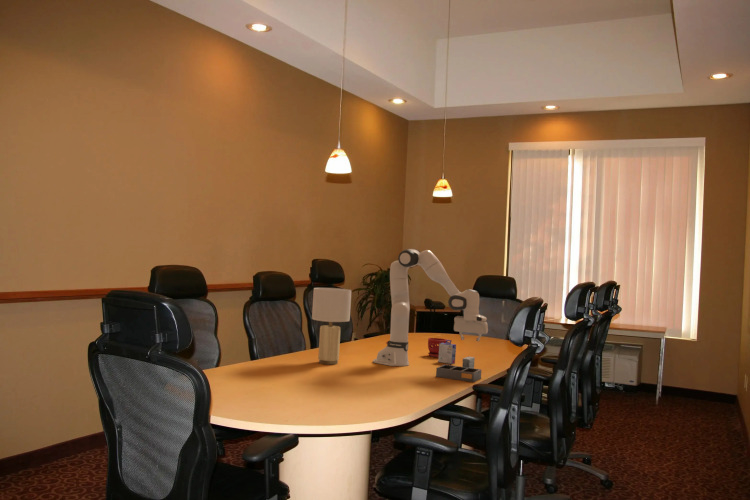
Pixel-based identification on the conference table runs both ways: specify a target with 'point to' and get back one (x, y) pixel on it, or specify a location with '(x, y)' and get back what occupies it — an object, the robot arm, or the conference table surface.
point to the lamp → (330, 320)
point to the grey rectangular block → (468, 362)
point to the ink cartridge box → (447, 352)
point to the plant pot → (432, 348)
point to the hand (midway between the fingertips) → (470, 340)
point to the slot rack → (458, 373)
